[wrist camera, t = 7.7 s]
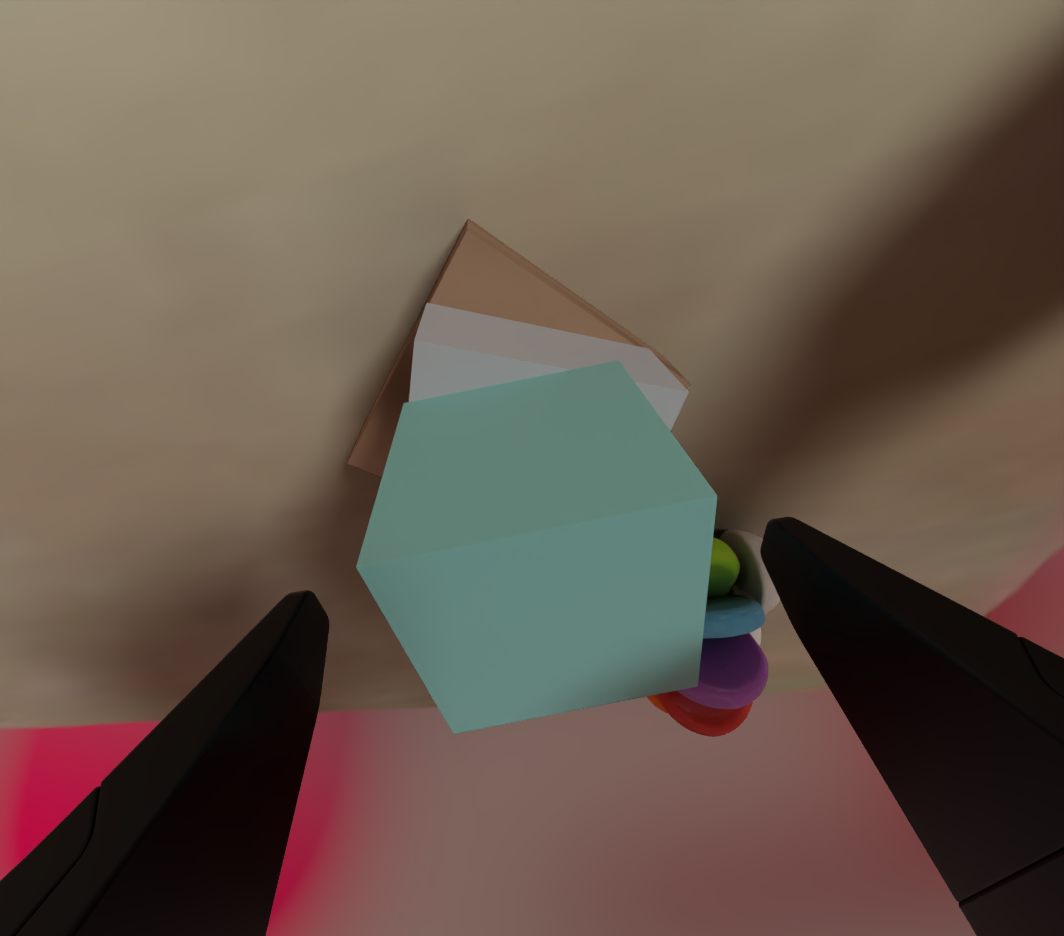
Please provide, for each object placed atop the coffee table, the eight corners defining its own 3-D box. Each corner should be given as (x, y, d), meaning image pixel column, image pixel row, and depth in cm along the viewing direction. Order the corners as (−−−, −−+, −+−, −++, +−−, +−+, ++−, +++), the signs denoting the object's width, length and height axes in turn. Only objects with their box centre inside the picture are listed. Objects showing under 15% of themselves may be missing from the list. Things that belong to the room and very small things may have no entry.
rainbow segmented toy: (582, 639, 26) (614, 782, 20) (589, 514, 20) (636, 661, 14) (722, 623, 26) (793, 758, 20) (766, 497, 21) (883, 632, 15)
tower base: (468, 216, 13) (467, 229, 11) (658, 350, 16) (690, 384, 14) (365, 419, 17) (347, 463, 14) (539, 497, 20) (548, 545, 17)
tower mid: (426, 302, 12) (414, 340, 9) (649, 348, 13) (688, 391, 11) (407, 493, 15) (395, 557, 13) (584, 513, 17) (604, 574, 14)
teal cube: (403, 403, 10) (356, 567, 6) (618, 359, 10) (717, 495, 6) (460, 554, 13) (453, 734, 9) (627, 520, 13) (697, 686, 9)
